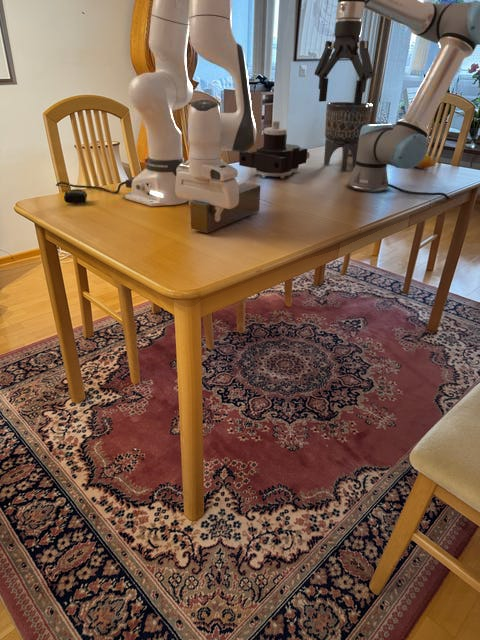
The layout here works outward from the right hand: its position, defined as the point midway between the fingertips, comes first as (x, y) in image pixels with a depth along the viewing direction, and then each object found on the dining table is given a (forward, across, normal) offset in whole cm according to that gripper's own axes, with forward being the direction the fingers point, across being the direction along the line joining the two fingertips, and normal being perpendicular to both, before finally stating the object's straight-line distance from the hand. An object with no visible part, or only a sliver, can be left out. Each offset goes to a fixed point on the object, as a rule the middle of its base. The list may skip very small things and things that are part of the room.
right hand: (339, 103), depth 140 cm
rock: (+32, -50, +86) cm, 105 cm away
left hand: (+28, -4, -49) cm, 57 cm away
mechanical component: (+32, -44, +21) cm, 58 cm away
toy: (+32, -14, +85) cm, 92 cm away
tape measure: (+32, -52, -67) cm, 90 cm away
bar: (+31, -6, -39) cm, 50 cm away
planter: (+32, -36, +54) cm, 73 cm away
